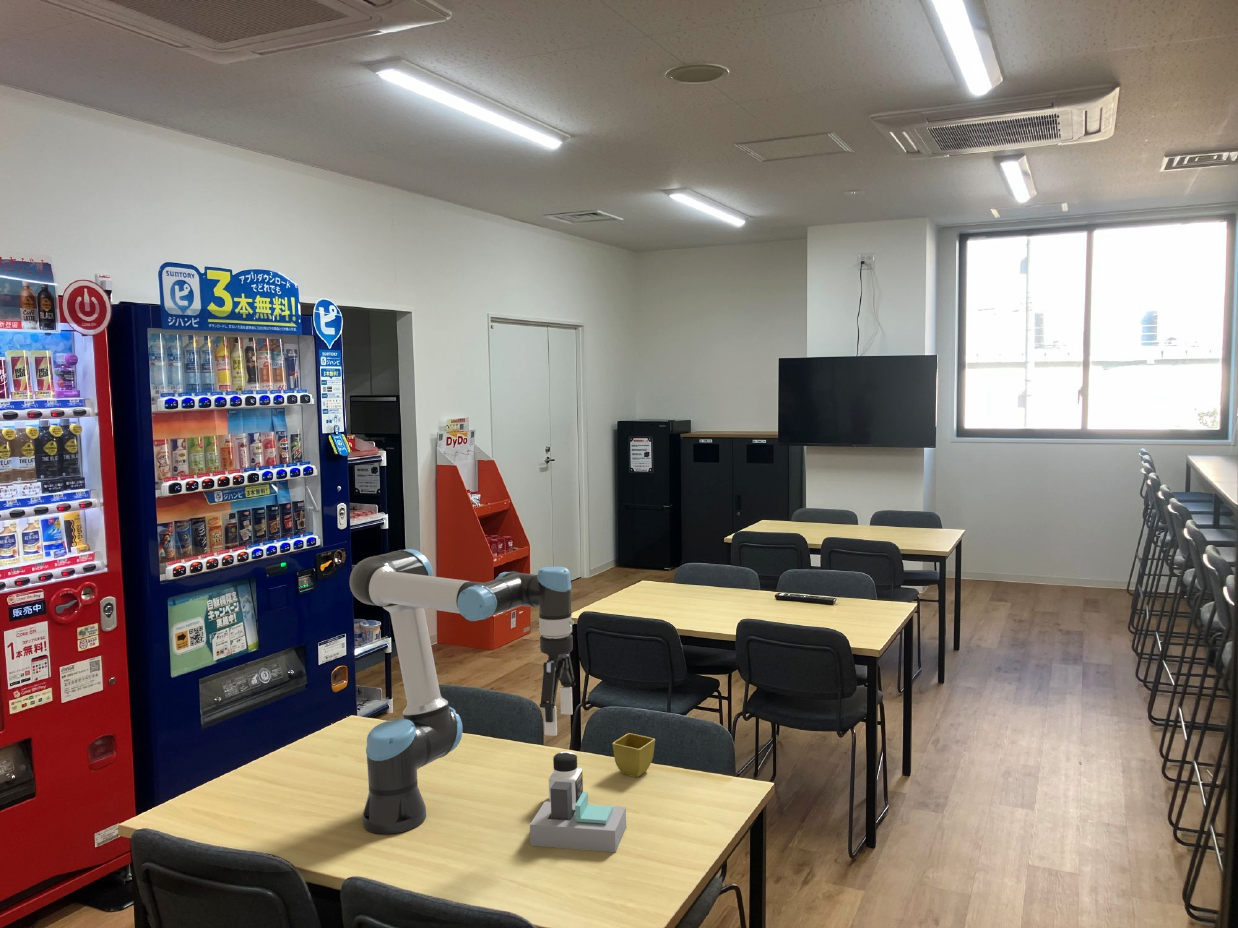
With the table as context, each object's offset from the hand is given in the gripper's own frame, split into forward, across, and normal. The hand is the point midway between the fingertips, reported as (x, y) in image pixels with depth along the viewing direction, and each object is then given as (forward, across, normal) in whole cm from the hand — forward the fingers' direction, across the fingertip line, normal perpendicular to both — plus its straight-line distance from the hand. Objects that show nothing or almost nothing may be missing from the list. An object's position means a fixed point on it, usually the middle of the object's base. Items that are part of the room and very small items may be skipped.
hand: (559, 724), depth 213 cm
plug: (+27, 0, 0) cm, 27 cm away
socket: (+27, 0, -4) cm, 27 cm away
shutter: (+21, 0, -8) cm, 23 cm away
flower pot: (+27, +37, -10) cm, 47 cm away
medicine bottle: (+27, +18, +4) cm, 33 cm away
